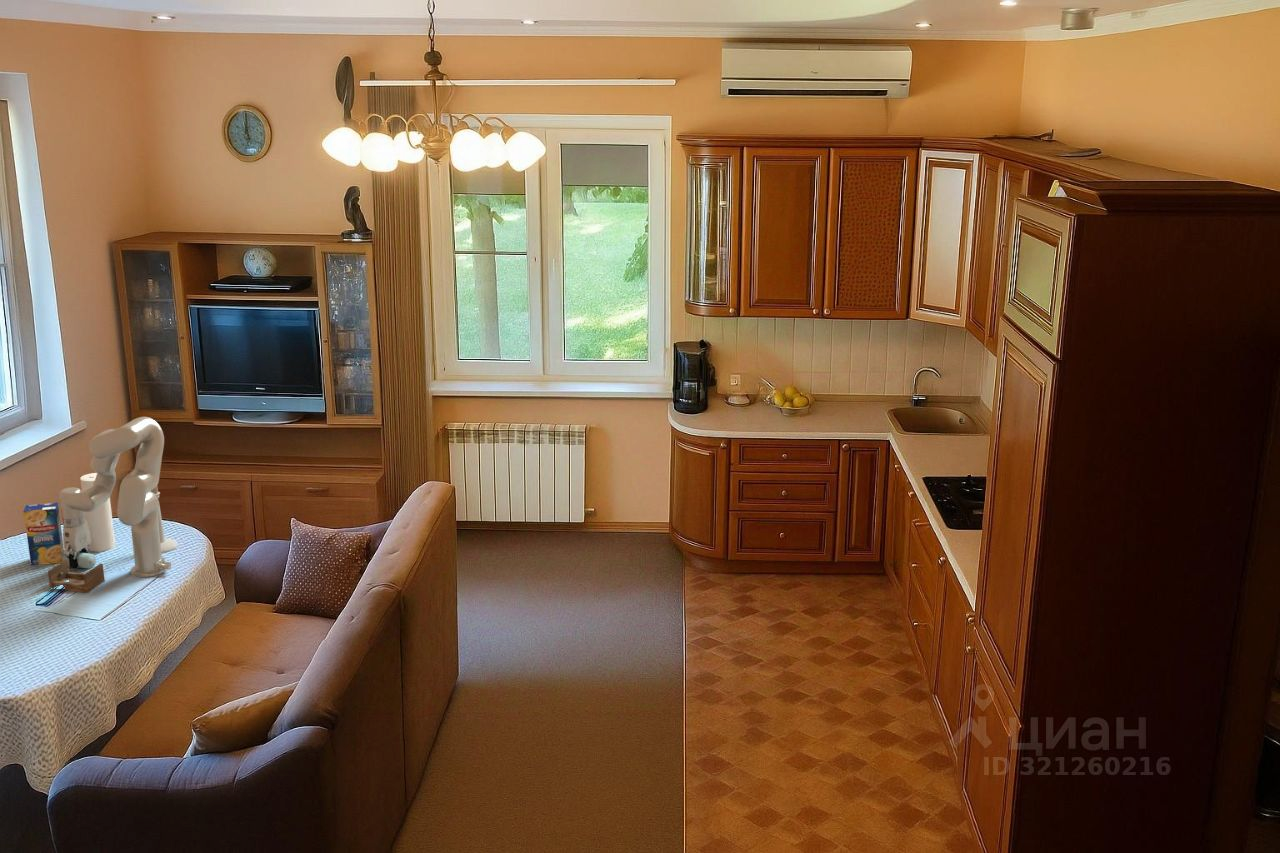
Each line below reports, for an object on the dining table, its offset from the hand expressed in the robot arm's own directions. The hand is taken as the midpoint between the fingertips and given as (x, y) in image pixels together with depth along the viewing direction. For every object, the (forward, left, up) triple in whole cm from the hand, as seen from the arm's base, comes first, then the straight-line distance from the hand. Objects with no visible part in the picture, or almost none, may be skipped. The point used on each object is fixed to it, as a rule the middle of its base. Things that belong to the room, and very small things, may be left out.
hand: (79, 564), depth 424 cm
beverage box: (+15, -3, -1) cm, 15 cm away
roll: (0, 0, -1) cm, 1 cm away
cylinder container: (+3, -19, -1) cm, 19 cm away
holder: (-9, +14, -1) cm, 17 cm away
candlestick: (-19, -24, -1) cm, 30 cm away
